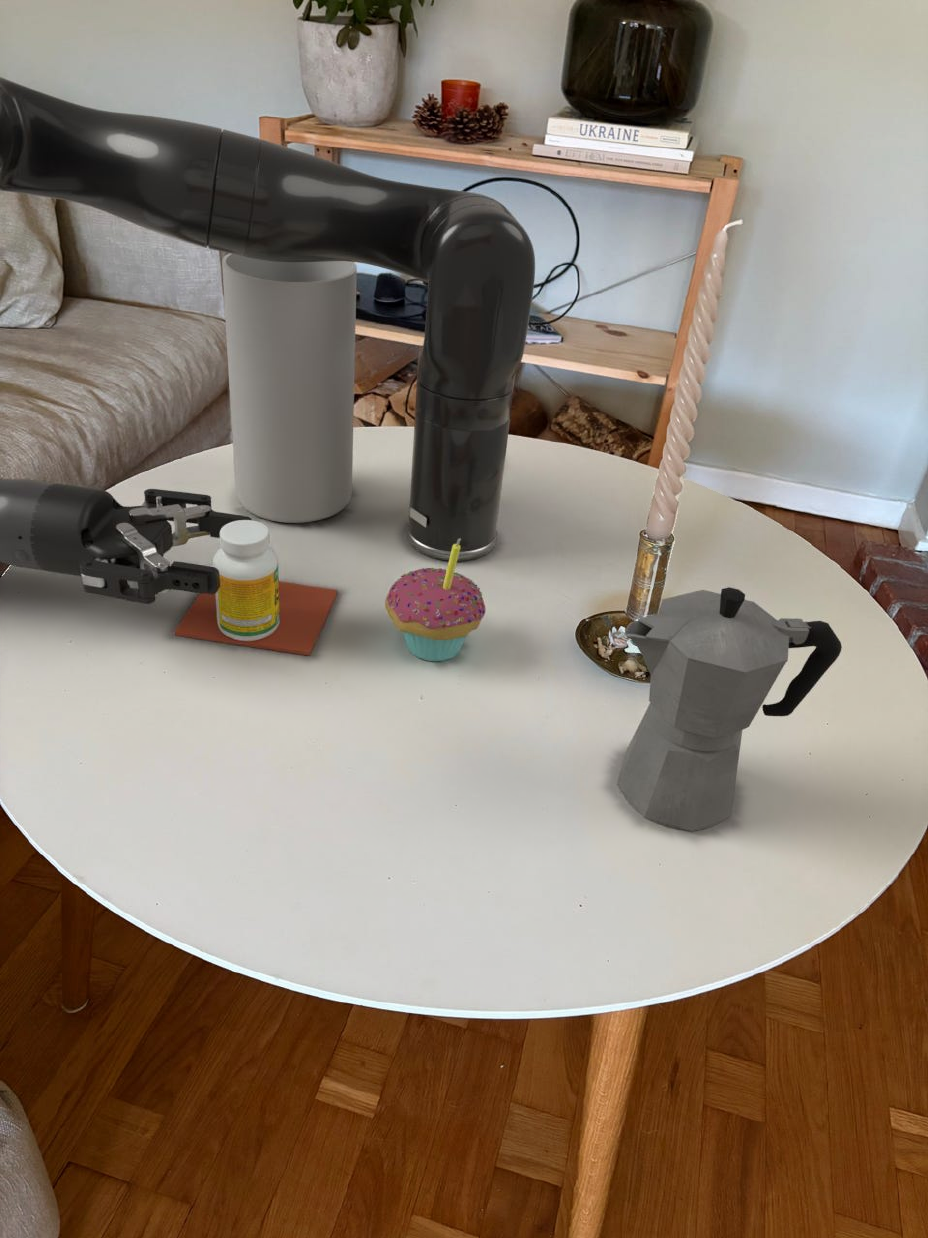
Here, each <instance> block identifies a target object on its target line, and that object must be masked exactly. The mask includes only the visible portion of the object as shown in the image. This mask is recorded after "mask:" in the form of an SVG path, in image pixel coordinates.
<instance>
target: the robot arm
mask: <svg viewBox="0 0 928 1238" xmlns="http://www.w3.org/2000/svg"><path fill="white" fill-rule="evenodd" d="M0 192H6V193H16V194H25V195H31V196H37V197H43V198H50V199H55V200H56V199H57V200H62V201H67V202H71V203H77V204H80V205H84V206H88V207H90V208H91V207H92V208H94V209H97V210H99V211H103V212H105V213H108V214H109V215H112V216H115V217H117V218H119V219H121V220H124V221H127V222H129V223H131V224H134V225H136V226H139V227H142V228H144V229H146V230H149V231H152V232H154V233H157V234H159V235H163V236H165V237H169V238H171V239H174V240H177V241H180V242H184V243H187V244H191V245H194V246H198V247H200V248H204V249H207V248H208V249H209V250H213V251H217V252H221V253H227V254H229V253H230V254H235V255H239V256H243V257H244V256H245V257H248V258H253V259H259V260H266V261H275V262H327V261H347V262H354V263H359V264H365V265H370V266H374V267H379V268H382V269H386V270H389V271H392V272H396V273H398V274H402V275H405V276H407V277H411V278H413V279H416V280H419V281H422V282H423V283H424V282H425V283H427V300H426V311H425V312H426V314H425V325H424V326H425V327H424V337H423V343H422V346H421V348H420V350H419V352H418V357H417V372H416V391H415V404H414V405H415V407H414V409H415V410H414V424H413V441H412V442H413V443H412V459H411V474H410V489H409V491H410V494H409V505H408V521H407V524H406V539H407V542H408V543H409V544H410V546H411V547H412V548H414V549H415V550H416V551H418V552H420V553H421V554H422V555H426V556H428V557H431V558H433V559H434V558H435V559H437V560H444V561H449V559H450V555H451V550H452V546H453V544H457V541H458V539H459V538H460V539H461V540H460V543H459V545H460V551H459V555H458V559H457V562H460V561H461V562H462V561H470V560H476V559H479V558H482V557H484V556H486V555H488V554H489V553H490V552H492V551H493V550H494V548H495V546H496V543H497V536H498V530H497V529H498V520H499V512H500V505H501V504H500V503H501V498H502V489H503V488H502V487H503V480H504V471H505V464H506V457H507V456H506V455H507V447H508V438H509V431H510V423H511V420H512V417H511V416H512V415H511V414H512V413H511V412H512V406H513V397H514V387H515V381H516V380H515V379H516V375H517V371H518V369H519V368H520V365H521V363H522V360H523V357H524V353H525V347H526V343H527V336H528V335H527V334H528V329H529V323H530V316H531V309H532V305H533V304H532V303H533V302H532V301H533V297H534V290H535V289H534V288H535V280H536V279H535V278H536V254H535V250H534V246H533V243H532V240H531V238H530V236H529V234H528V232H527V231H526V230H525V228H524V227H523V226H522V225H521V223H520V222H519V221H518V220H517V218H516V217H515V216H514V215H513V214H512V212H511V211H510V210H509V209H508V208H507V207H506V206H505V205H503V204H502V203H501V202H500V201H498V200H497V199H495V198H492V197H490V196H487V195H485V194H482V193H478V192H471V191H465V190H464V191H463V190H455V189H449V188H448V189H447V188H441V187H432V186H427V185H421V184H420V185H419V184H413V183H407V182H401V181H396V180H391V179H385V178H381V177H378V176H374V175H370V174H367V173H364V172H361V171H358V170H356V169H353V168H350V167H348V166H345V165H343V164H339V163H337V162H334V161H331V160H328V159H325V158H322V157H319V156H316V155H313V154H310V153H307V152H304V151H301V150H297V149H294V148H291V147H288V146H284V145H282V144H278V143H275V142H272V141H269V140H266V139H263V138H258V137H255V136H251V135H247V134H244V133H239V132H235V131H232V130H229V129H222V128H220V127H216V126H212V125H207V124H202V123H198V122H191V121H186V120H180V119H176V118H175V119H174V118H168V117H161V116H154V115H147V114H146V115H145V114H135V113H125V112H115V111H108V110H102V109H97V108H92V107H88V106H84V105H81V104H77V103H74V102H71V101H68V100H65V99H63V98H59V97H56V96H53V95H50V94H47V93H44V92H41V91H39V90H36V89H32V88H30V87H27V86H24V85H22V84H19V83H17V82H14V81H12V80H9V79H6V78H4V77H1V76H0ZM143 495H144V502H143V503H142V504H141V505H133V506H123V505H122V504H120V503H119V502H118V501H117V500H116V498H114V495H112V494H111V493H110V492H108V491H107V490H104V489H99V488H92V487H85V486H79V485H78V486H77V485H71V484H64V483H58V482H51V481H44V480H37V479H30V478H28V479H27V478H2V477H0V563H3V564H7V565H9V566H14V567H17V568H22V569H29V570H38V571H44V572H49V573H57V574H63V575H69V576H76V577H81V582H82V583H81V584H82V588H83V592H84V593H86V594H91V595H95V596H101V597H106V598H112V599H116V600H123V601H127V602H128V601H129V602H133V603H139V604H143V605H150V604H153V603H154V602H156V599H157V598H156V595H158V594H160V593H161V594H166V593H170V592H172V590H173V591H181V592H186V593H187V592H188V593H194V594H204V593H207V594H215V593H217V591H218V589H219V588H220V576H219V571H218V569H217V568H215V567H213V566H210V565H204V564H203V565H202V564H196V563H191V562H190V563H189V562H183V561H176V560H173V561H172V563H171V564H170V561H169V560H167V559H166V558H165V557H164V556H165V554H166V553H168V552H169V551H170V550H171V549H172V548H174V547H179V546H184V545H186V544H187V543H188V541H189V540H190V539H194V538H200V537H205V536H209V537H210V538H215V539H220V530H221V528H222V527H223V526H225V525H226V524H228V523H230V522H233V521H238V520H253V519H252V518H251V517H249V516H246V515H240V514H234V513H227V512H221V511H215V510H213V509H212V508H213V507H212V497H211V495H208V494H202V493H195V492H184V491H177V490H176V491H175V490H168V489H159V488H158V489H157V488H147V489H145V490H144V491H143ZM187 505H193V506H189V507H187ZM170 522H173V524H174V525H173V526H174V530H173V528H172V524H171V523H170ZM187 524H194V525H193V526H187ZM129 582H133V583H137V588H136V587H132V586H130V584H129Z"/></svg>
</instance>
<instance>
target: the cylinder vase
mask: <svg viewBox="0 0 928 1238" xmlns="http://www.w3.org/2000/svg"><path fill="white" fill-rule="evenodd" d="M221 263H222V264H221V266H222V281H223V300H224V317H225V335H226V337H225V338H226V349H227V350H226V352H227V369H228V388H229V404H230V406H229V407H230V420H231V421H230V423H231V440H232V456H233V472H234V473H233V475H234V492H235V496H236V499H237V501H238V503H239V504H240V506H242V508H243V509H244V510H246V511H247V512H249V513H251V514H252V515H254V516H256V517H259V518H261V519H264V520H268V521H272V522H278V523H288V524H303V523H312V522H318V521H321V520H325V519H328V518H331V517H332V516H334V515H336V514H339V513H340V512H341V511H343V510H344V509H345V508H346V507H347V506H348V504H349V503H350V501H351V499H352V495H353V465H354V464H353V461H354V460H353V459H354V457H353V456H354V416H355V415H354V413H355V412H354V411H355V410H354V409H355V371H356V370H355V366H356V365H355V363H356V361H355V360H356V359H355V358H356V320H357V319H356V317H357V316H356V315H357V275H358V271H357V267H358V266H357V264H356V262H347V261H327V262H275V261H266V260H259V259H253V258H248V257H245V256H244V257H243V256H239V255H235V254H230V253H227V254H226V255H224V256H223V257H222V260H221Z"/></svg>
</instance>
